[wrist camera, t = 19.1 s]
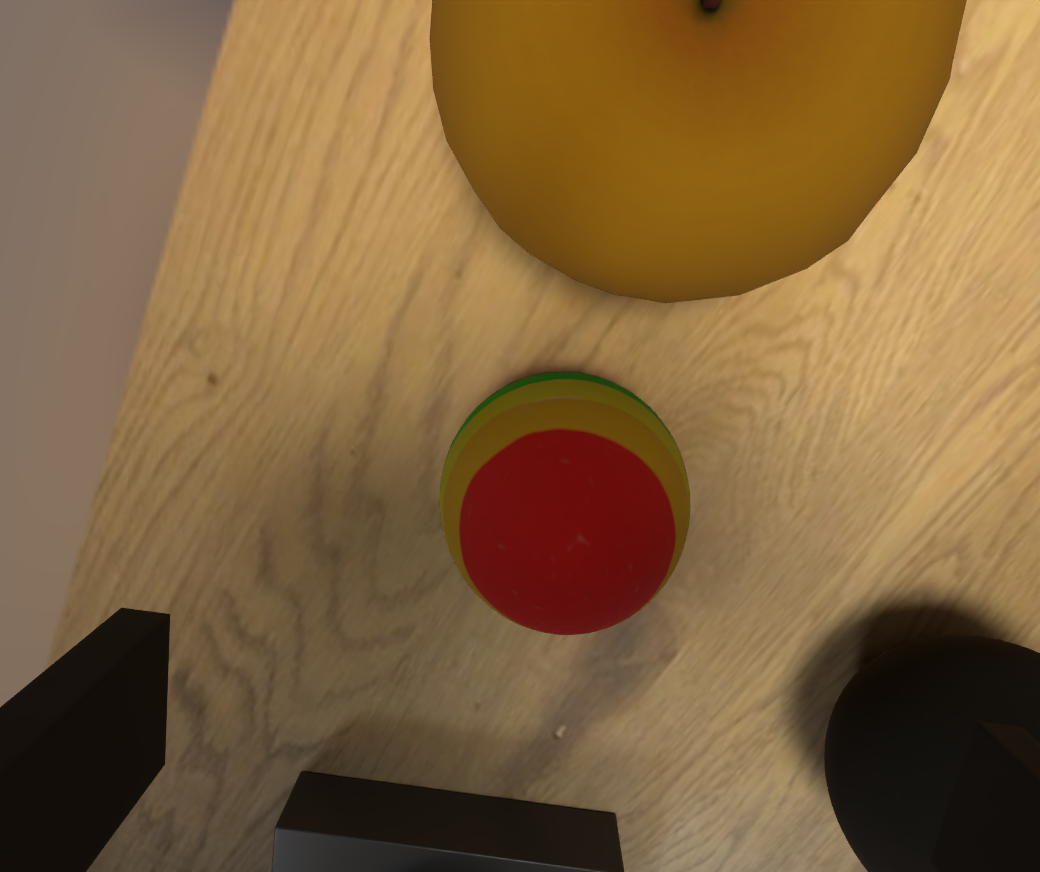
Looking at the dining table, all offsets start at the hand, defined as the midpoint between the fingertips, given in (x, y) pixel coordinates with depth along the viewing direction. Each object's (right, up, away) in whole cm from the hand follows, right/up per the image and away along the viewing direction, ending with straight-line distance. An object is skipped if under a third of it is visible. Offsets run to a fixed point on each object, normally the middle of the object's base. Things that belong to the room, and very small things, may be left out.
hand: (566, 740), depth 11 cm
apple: (+4, +16, +13) cm, 21 cm away
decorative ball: (+15, -6, +18) cm, 24 cm away
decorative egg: (+1, +4, +16) cm, 17 cm away
